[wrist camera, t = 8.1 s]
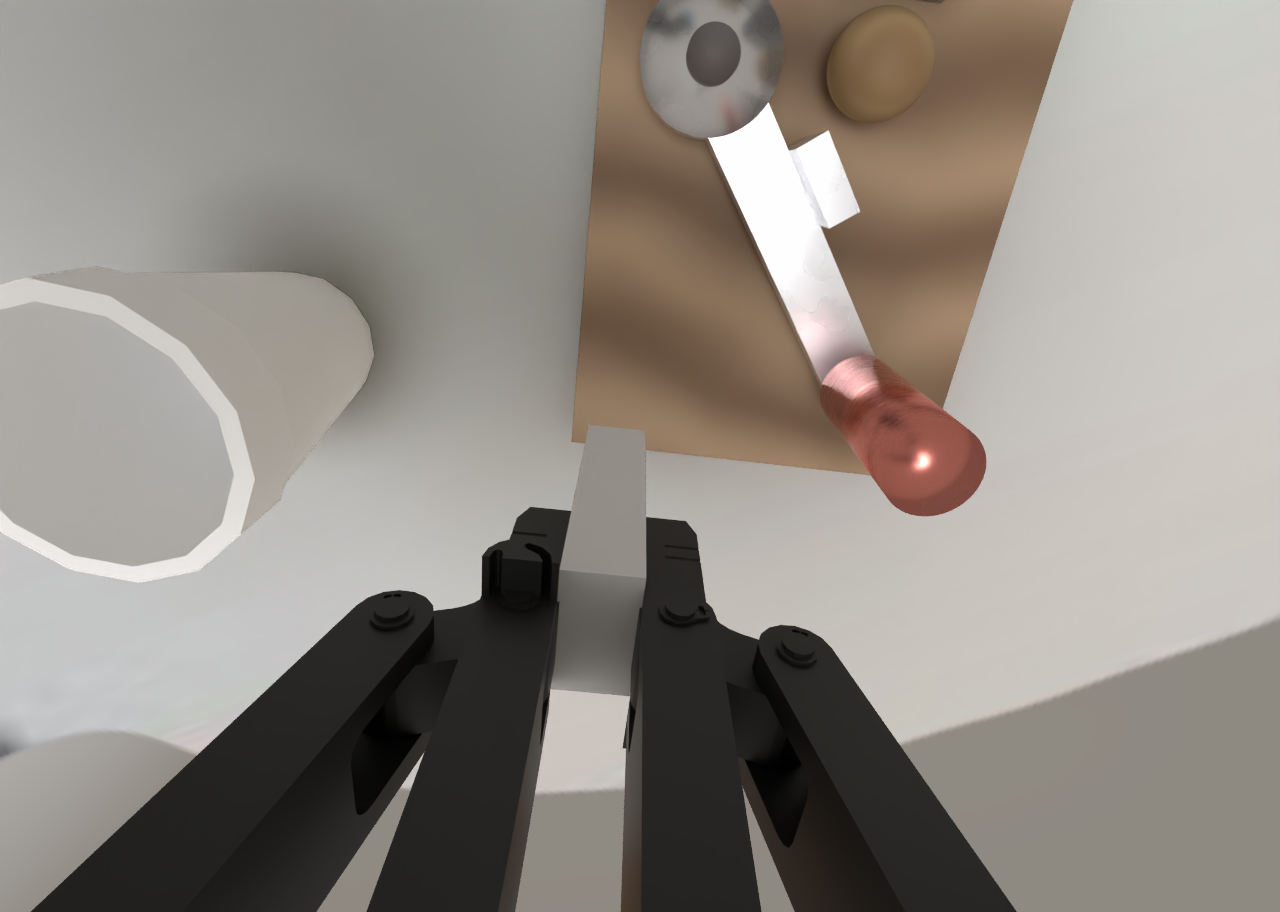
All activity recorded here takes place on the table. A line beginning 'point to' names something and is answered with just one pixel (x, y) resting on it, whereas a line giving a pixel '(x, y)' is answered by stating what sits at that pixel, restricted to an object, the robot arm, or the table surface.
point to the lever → (806, 250)
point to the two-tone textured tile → (933, 0)
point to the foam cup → (163, 408)
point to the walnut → (880, 63)
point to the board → (861, 245)
